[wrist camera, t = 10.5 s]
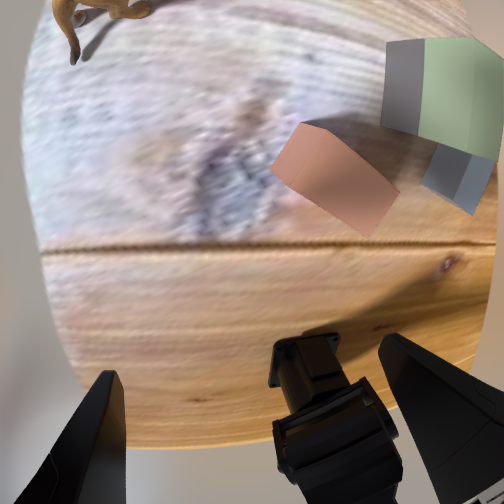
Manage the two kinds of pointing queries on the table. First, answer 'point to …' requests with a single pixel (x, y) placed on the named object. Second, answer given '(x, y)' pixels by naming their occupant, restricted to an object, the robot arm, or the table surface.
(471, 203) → the slate blue brick
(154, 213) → the table surface
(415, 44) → the charcoal brick
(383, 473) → the robot arm
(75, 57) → the lion figurine
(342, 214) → the terracotta brick
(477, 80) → the green brick
